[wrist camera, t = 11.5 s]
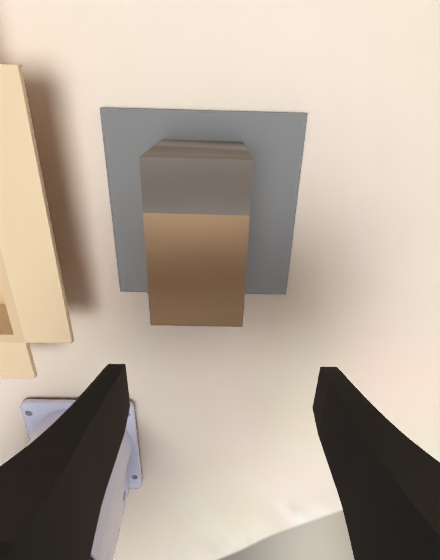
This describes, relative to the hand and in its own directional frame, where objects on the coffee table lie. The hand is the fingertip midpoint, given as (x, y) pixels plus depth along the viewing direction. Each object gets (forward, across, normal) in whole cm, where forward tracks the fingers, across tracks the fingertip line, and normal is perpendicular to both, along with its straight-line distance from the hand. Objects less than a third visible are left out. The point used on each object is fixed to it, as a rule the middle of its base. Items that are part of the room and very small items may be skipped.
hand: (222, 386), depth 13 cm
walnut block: (+9, +1, -4) cm, 10 cm away
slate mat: (+9, +1, -4) cm, 10 cm away
